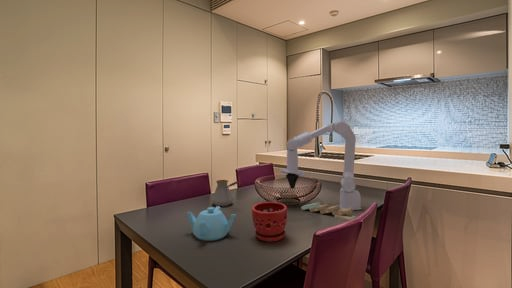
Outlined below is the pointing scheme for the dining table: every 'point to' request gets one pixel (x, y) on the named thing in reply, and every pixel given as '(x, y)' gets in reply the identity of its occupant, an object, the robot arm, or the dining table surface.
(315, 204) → the teal domino
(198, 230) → the teapot
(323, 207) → the domino
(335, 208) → the domino
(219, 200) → the coffee pot
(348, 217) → the domino
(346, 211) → the domino
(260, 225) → the plant pot
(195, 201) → the dining table surface
